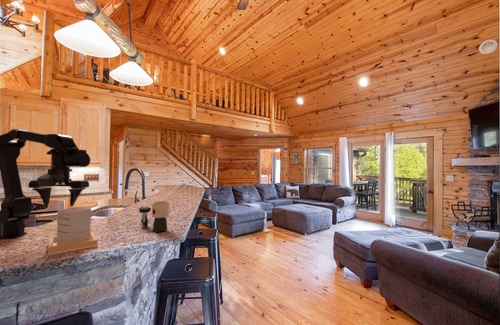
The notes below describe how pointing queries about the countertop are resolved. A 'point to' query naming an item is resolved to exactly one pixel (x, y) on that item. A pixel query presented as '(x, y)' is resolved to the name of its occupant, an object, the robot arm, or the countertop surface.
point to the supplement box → (73, 225)
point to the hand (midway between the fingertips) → (59, 205)
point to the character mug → (160, 215)
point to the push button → (144, 215)
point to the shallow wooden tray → (71, 245)
